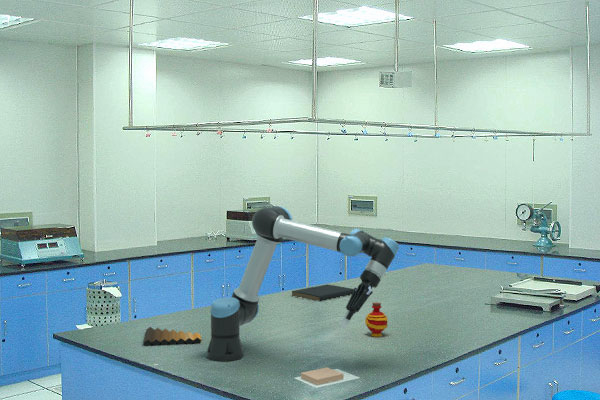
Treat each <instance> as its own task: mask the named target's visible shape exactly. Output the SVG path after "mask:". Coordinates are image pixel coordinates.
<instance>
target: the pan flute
mask: <svg viewBox="0 0 600 400" xmlns="http://www.w3.org/2000/svg"><path fill="white" fill-rule="evenodd" d="M201 342H202V335H201V334H200V333H199V332H195V333H194V334H193V333H192V332H190V331H189V330H187V332H186V333H185V332H184V331H182V330H180V331H178V332H177V330H175V329H172V330H168V329H167V328H164V329H163V330H162V329H161V328H159V327H157V328H155V329H154V327H152V326H150V327H148V328H147V329H146V330H145V334H144V339H143V345H144V347H152V346H155V347H156V346H158V347H159V346H168V344H169V346H176V344H177V345H178V346H179V345H182V346H183V345H184V344H186V345H193V344H194V345H198V344H199V345H200V344H201Z"/></svg>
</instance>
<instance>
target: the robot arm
mask: <svg viewBox="0 0 600 400" xmlns="http://www.w3.org/2000/svg"><path fill="white" fill-rule="evenodd" d="M251 225H252V228H253V230H254V231H255V234H256V236H257V238H256V241H255V243H254V246H253V249H252V252H251V255H250V257H249V260H248V262H247V265H246V268H245V269H244V272H243V276H242V278H241V281H240V284H239V286H238V287H237V288H234V289H233V292H232V294H231V297H230V296H229V297H227V296H226V297H225V296H224V297H222V298H216V299H215V300H214V301H212V302H211V306H210V336H211V337H210V341H209V344H208V346H207V347H208V348H207V351H206V357H207V359H209V360H212V361H217V362H218V361H219V362H229V361H237V360H240V359H242V358H244V357H245V353H244V352H245V350H244V348H243V347H244V346H243V344H242V341H241V337H240V326H243V325H245V324H248V323H250V322H252V321H253V320H254V319H255V318H256V317H257V315H258V314H259V309H260V305H259V301H260V296H259V295H258V294H259V292H260V289H261V286H262V283H263V282H264V279H265V276H266V274H267V271H268V268H269V266H270V263H271V261H272V258H273V255H274V254H275V253H274V252H275V251H276V247H277V245H279V244H281V243H283V240H284V239H285V240H290V241H293V242H297V243H302V244H307V245H311V246H314V247H318V248H322V249H327V250H331V251H334V252H338V253H342V254H343V255H344V256H345V257H355V256H357V255H359V254H361V253H363V254H365V255H366V256H368V257H370V259H369V261H368V263H367V264H366V266H365V267H364V268H365V270H363V271H362V273H361V274H360V276H359V279H360V281H361V282H360V283H359V285H358V286H357V287H354V288H353V289H354V291H353V294H352V295H350V297H349V300H348V302H347V303H346V307H345V309H346V311H345V312H344V314H343V316H342V318H341V319H340V321H339V323H338V326H340V327H342V329H346V328H347V327H348V325H349V323H350V321H351V320H352V318H353V317H354V316H355V315H354V314H356V313H359V311H360V310H361V308H362V307H363V305H364V304H365V303H366V301H367V300H368V299H369V298H370V296H372V294H374V293H373V291H372V289H373V288H377V287H378V285H380V282H381V279H382V278H383V277H384V276H385V275H386V272H387V270H388V269H389V267H390V265H391V263H392V262H393V260H394V258H395V257H396V255H397V253H398V251H399V249H400V246H399V244H398V242H396V241H395V240H394V239H393V238H389V237H387V236H385V237H383V238H382V239H381V240H380V239H379V238H376V237H375V236H372V235H370V234H369V233H367V232H365V231H364V230H360V229H359V228H353V229H352V230H351V232H350V233H346V232H341V231H337V230H333V229H329V228H325V227H320V226H316V225H313V224H308V223H304V222H300V221H296V220H293V217H292V214H291V213H290V211H289V210H288V209H287V208H286V207H283V206H277V205H275V206H270V207H262V208H260V209H258V210H256V211H255V213H254V214H253V216H252V219H251Z"/></svg>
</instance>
